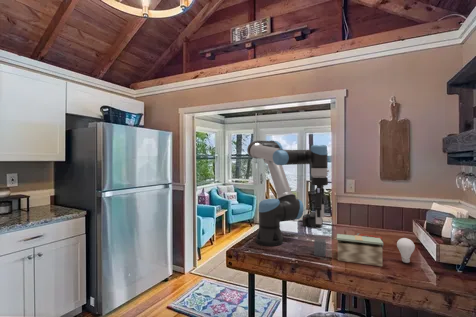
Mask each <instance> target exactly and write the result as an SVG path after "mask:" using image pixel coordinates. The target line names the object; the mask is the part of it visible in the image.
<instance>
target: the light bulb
mask: <svg viewBox="0 0 476 317" xmlns="http://www.w3.org/2000/svg"><path fill="white" fill-rule="evenodd" d="M415 245H416V244H414V242H413V240H411V239H409V238H407V237H402V238H399V239H398V240H397V242H396V247H397V249H398V250H399V253H400V256H401V261H402V262H403V263H404V264H409V263H410V262H411V260H410V259H411V256H412V254H413V253H414V251H415V247H416V246H415Z"/></svg>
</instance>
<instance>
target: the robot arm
mask: <svg viewBox="0 0 476 317" xmlns="http://www.w3.org/2000/svg"><path fill="white" fill-rule="evenodd" d="M246 149H247V150H246V151H247V154H248V156H249V157H251V158H252V159H262V160H263V162H264V164H265V165H267V167H268V170H269V173H270V176H271V179H272V180H271V181H272V183H273V187H274V189H275V192H276V196H277V198H266V199H263V200H260V202H259V203H258V209H257V211H258V229H257V233H256V236H255V242H256V243H257V244H258V245H262V246H265V247H273V246H274V247H276V246H280V245H283V243H284V236H283V234H282V231H281V228H280V226H281V222H288V221H296V220H299V219H301V218H303V215H304V210H305V209H304V208H305V207H304V203H303V201H302V200H301V199H299V198H297V197H296V194H295V193H293V192H292V190H291V187H290V185H289V184H290V183H289V181H288V178H287V175H286V173H285V170H284V167H283V166H289V165H310V166H311V167H310V168H311V169H310V172H311V175H310V176H311V185H312V186H316V188H315V189H314V192H315V202H314V203H315V206H314V208H313V211H315V212H316V224H322V219H323V218H325V205H326V201H325V188H324V186H328V185H329V179H328V175H329V174H328V173H329V172H330V170H329V169H328V162H329V161H328V147H327V145H325V144H313V145H311V146H310V149H283V145H282V144H281V143H280V142H279V141H277V140H254V141H252V142H250V143H249V144H248V146H247V148H246Z"/></svg>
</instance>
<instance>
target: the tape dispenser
mask: <svg viewBox="0 0 476 317" xmlns="http://www.w3.org/2000/svg"><path fill="white" fill-rule="evenodd" d="M356 235H357V236H364V237H374V238H380V239H381V240H382V242H383V236H379V235H371V234H365V233H359V232H358V233H356ZM383 243H384V242H383ZM381 246H382V248H383V247H384V245H381Z"/></svg>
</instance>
